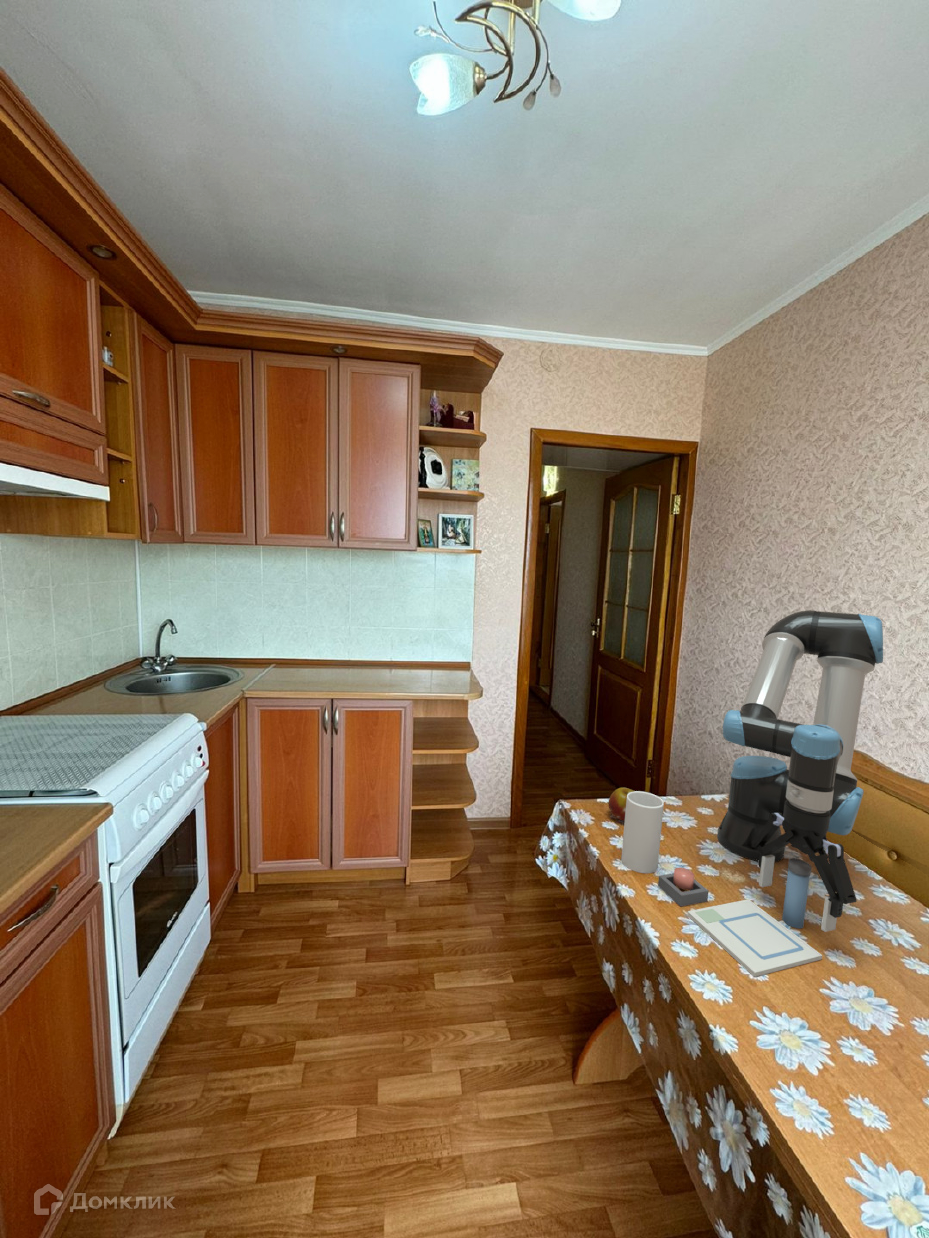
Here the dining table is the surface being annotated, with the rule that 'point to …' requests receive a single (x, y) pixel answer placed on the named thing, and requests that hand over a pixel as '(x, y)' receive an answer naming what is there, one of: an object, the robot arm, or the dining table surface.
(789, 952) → the board
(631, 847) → the cup
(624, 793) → the fruit
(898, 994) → the dining table surface
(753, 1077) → the dining table surface
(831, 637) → the robot arm
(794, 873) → the marker
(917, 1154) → the dining table surface
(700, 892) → the button housing
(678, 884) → the button
